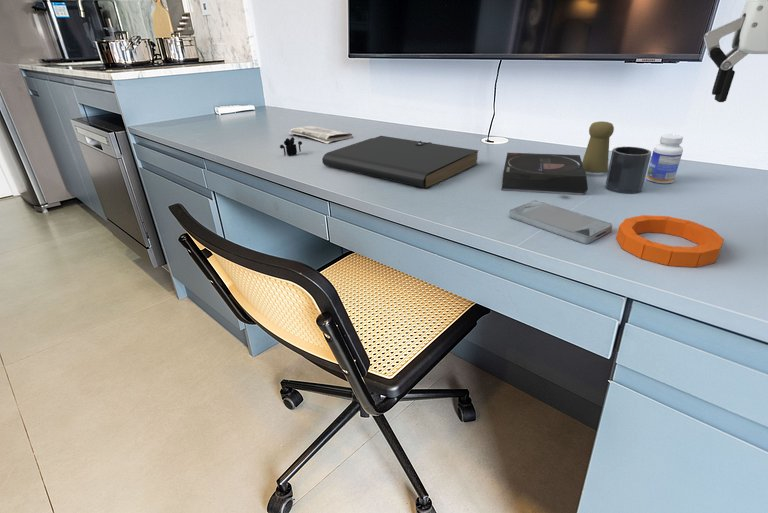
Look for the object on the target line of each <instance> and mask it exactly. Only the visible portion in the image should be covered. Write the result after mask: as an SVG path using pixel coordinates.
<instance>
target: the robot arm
mask: <svg viewBox="0 0 768 513" xmlns="http://www.w3.org/2000/svg"><path fill="white" fill-rule="evenodd" d="M732 33H733V37H732V40H731V48H732V49H731V50H729V51H728V52H727V53H725V52H724V51H723V50H722V48H721V46H720V40H721V39H722V38H723V37H726V36H728V35H730V34H732ZM703 41H704V45H705V48H706V52H707V55H708V57H709V58H710V60H711V61H712V62H713V63H714V64H715V66H716V67H717V68H718V71H717V73H716V77H715V80H714V83H713V87H712V91H711V95H712V96H714V100H715V101H716V102H718V103H724V102H726V101H727V100H728V95H729V93H730V89H731V88H732V87H731V86H732V83H733V80H734V76H735V74H736V71H735V70H734V67H735V65H736V64H738V63H739V62H740V61H741V60H742V59H743V60H744V58H745V57H747V55H768V0H746V1H745V4H744V6H743V9H742V11H741V14H740V17H738V18H736V19H733V20H732V21H730V22H727V23H725V24H722V25H721V26H718V27H716V28H714V29H711V30H710V31H707V32H706V33H705V34H703Z"/></svg>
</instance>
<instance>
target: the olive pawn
mask: <svg viewBox="0 0 768 513" xmlns="http://www.w3.org/2000/svg"><path fill="white" fill-rule="evenodd" d="M614 131H615V126H614V124H613V123H611V122H609V121H594V122H593V123H591V124H590V126H589V129H588V135H589V136H590V137H589V140H588V143H587V146H586V149H585V153H584V156H583V159H582V164H583V167H584V170H585V172H589V173H605V172H608V169H609V155H610V153H609V152H610V138H611V136H613V134H614Z"/></svg>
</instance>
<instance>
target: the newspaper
mask: <svg viewBox="0 0 768 513" xmlns="http://www.w3.org/2000/svg"><path fill="white" fill-rule="evenodd" d="M287 133H288V134H293V135H297V136H302V137H307V138H309V139H313V140H316V141H319V142H322V143H325V144H327V145H328V144H329V143H332V142H334V141H341V140H342V141H343V140H347V139H350V138H352V136H353V133H349V132H344V131H340V130H335V129H330V128H324V127H319V126H316V125H315V126H314V125H310V126H309V125H308V126H307V125H306V126H299V127H298V126H297V127H294V128H291V129H290V131H287Z"/></svg>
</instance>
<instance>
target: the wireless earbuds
mask: <svg viewBox="0 0 768 513" xmlns="http://www.w3.org/2000/svg"><path fill="white" fill-rule="evenodd" d="M297 144H298V149H297ZM297 144H296V143H295V138H294V137H293V136H292V137H290V138H288V137H287V138H285V140H284V141H283V144H280V145H279V148H280V149H281V150H283V154H284V156H286V155H287V156H290V157H291V156H294V155H295V156H296V155H297V153H298V151H299V153H301V152H302V149H301V145H303V142H302V140H299V141H297Z"/></svg>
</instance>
